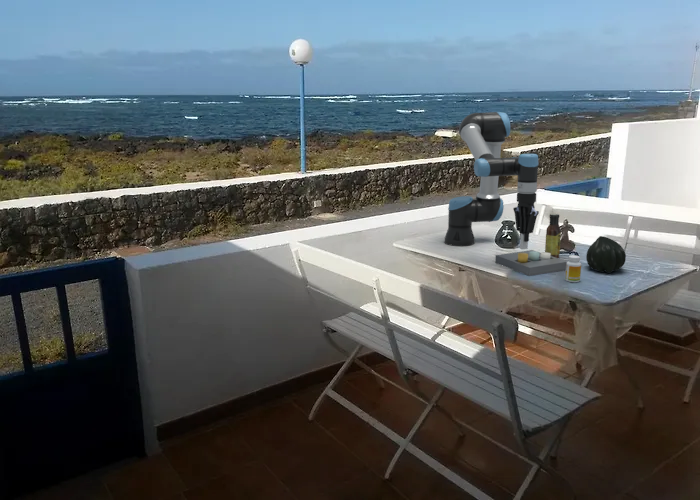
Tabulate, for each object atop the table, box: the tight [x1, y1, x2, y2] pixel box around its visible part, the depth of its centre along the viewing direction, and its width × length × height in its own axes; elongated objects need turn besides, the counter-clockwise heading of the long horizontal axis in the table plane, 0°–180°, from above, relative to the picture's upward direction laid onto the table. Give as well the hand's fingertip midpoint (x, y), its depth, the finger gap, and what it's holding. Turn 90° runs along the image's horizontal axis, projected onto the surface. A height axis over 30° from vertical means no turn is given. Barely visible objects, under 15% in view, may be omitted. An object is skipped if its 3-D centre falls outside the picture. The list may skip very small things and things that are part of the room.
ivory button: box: [540, 251, 551, 260], centre depth 226 cm, size 4×4×4 cm
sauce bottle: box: [544, 213, 562, 259], centre depth 237 cm, size 7×6×20 cm
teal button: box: [529, 250, 541, 262], centre depth 224 cm, size 4×4×4 cm
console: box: [494, 249, 569, 277], centre depth 226 cm, size 22×20×4 cm
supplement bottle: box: [564, 254, 582, 283], centre depth 205 cm, size 5×5×10 cm
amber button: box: [518, 253, 528, 263], centre depth 222 cm, size 4×4×4 cm
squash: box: [585, 235, 627, 273], centre depth 217 cm, size 14×15×15 cm
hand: (523, 248), depth 220 cm, fingers closed
